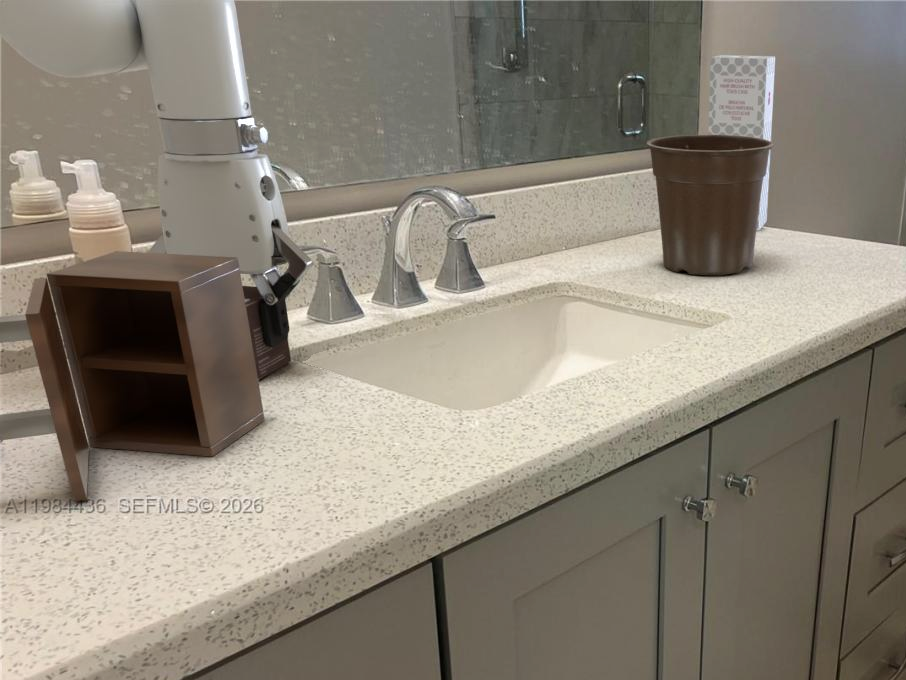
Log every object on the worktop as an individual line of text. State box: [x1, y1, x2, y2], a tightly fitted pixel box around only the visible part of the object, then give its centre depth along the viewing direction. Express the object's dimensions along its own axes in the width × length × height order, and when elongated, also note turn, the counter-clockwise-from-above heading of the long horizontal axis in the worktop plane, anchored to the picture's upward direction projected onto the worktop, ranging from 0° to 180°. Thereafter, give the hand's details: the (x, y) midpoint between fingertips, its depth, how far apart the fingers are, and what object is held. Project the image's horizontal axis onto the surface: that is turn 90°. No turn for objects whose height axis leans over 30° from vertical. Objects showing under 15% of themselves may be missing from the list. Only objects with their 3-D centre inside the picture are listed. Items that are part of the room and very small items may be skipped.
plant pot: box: [646, 134, 774, 277], centre depth 137 cm, size 16×16×16 cm
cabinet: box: [46, 250, 265, 457], centre depth 81 cm, size 8×10×14 cm
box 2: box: [707, 54, 776, 232], centre depth 163 cm, size 8×8×25 cm
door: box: [0, 277, 90, 502], centre depth 72 cm, size 7×10×13 cm
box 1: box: [242, 285, 292, 381], centre depth 97 cm, size 6×6×7 cm
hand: (242, 338), depth 97 cm, fingers closed on box 1, 6 cm apart
